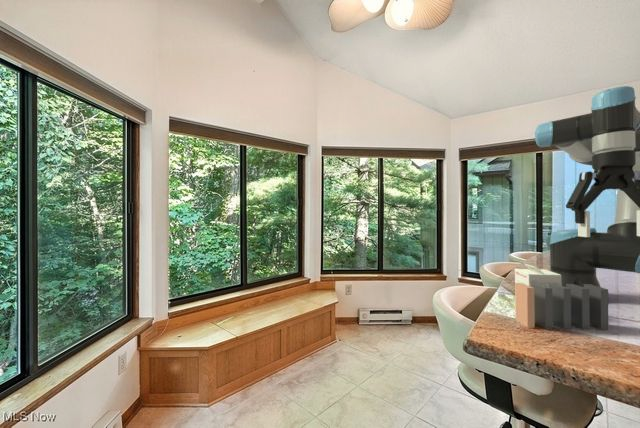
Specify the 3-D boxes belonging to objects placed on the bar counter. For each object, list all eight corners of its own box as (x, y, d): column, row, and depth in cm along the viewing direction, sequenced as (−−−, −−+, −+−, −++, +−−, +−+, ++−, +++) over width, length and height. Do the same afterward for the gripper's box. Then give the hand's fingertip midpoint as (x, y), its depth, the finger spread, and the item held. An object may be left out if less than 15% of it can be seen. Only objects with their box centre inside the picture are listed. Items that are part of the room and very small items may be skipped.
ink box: (563, 317, 76) (563, 268, 76) (529, 315, 78) (528, 267, 78) (545, 306, 85) (544, 263, 85) (514, 305, 86) (513, 262, 86)
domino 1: (521, 320, 74) (521, 283, 74) (534, 328, 69) (534, 288, 69) (515, 320, 74) (515, 283, 74) (527, 327, 69) (527, 287, 69)
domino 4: (573, 321, 73) (572, 283, 73) (589, 329, 68) (589, 289, 68) (566, 321, 73) (566, 283, 73) (582, 329, 68) (582, 288, 68)
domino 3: (555, 321, 73) (555, 283, 73) (571, 329, 68) (570, 288, 68) (549, 321, 73) (549, 283, 73) (563, 329, 68) (563, 288, 68)
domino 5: (590, 322, 72) (590, 284, 72) (608, 330, 67) (608, 289, 67) (583, 322, 73) (583, 284, 73) (601, 330, 68) (600, 289, 68)
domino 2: (538, 320, 74) (538, 283, 74) (552, 328, 69) (552, 288, 69) (532, 320, 74) (531, 283, 74) (545, 328, 69) (545, 288, 69)
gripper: (652, 153, 72) (653, 235, 72) (548, 156, 75) (549, 235, 75) (687, 146, 64) (688, 237, 65) (570, 150, 67) (571, 238, 67)
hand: (613, 236), depth 70 cm, fingers open, 13 cm apart
